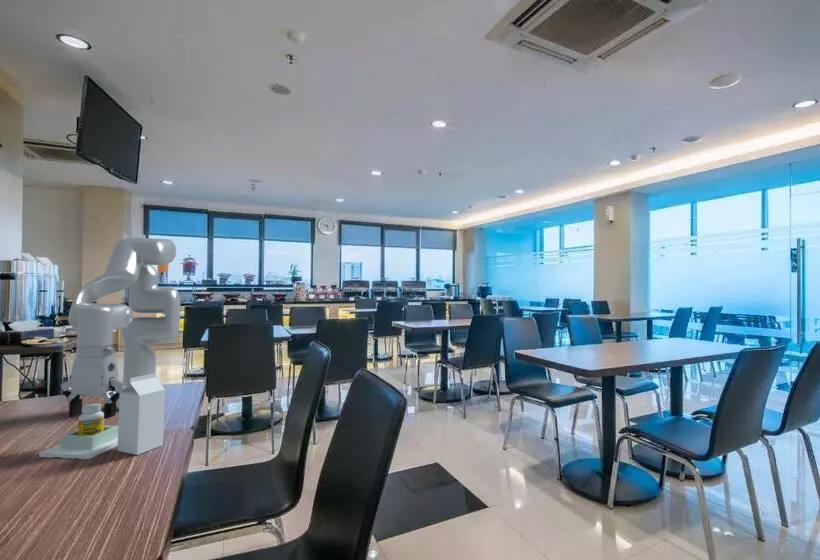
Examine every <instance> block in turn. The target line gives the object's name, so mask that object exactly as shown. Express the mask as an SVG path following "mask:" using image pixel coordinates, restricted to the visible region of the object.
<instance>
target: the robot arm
mask: <svg viewBox="0 0 820 560" xmlns="http://www.w3.org/2000/svg"><path fill="white" fill-rule="evenodd" d="M176 254H177V248H176V244H175V243H174V241H173V240H171V239H168V238H167V239H165V238H151V237H150V238H149V237H125V238H122V239H120V240H118V241H117V242H116V243H115V245H114V247H113V249H112V252H111V255H110V257H109V260H108V262H107V266H106V268H105V271H104V273H102V274H101V275H98V276H96V277H95V278H93V279H92V280H90V281H88V282H87V283H85V284H84V285H83V286H82V287H80V289H79V290H78V291H77V292H76V294H75V296H74V299H73V301H72V303H71V304H70V305H71V306H70V308H69V311H68V317H67V321H68V323H69V326H70V327H71V328H73V329H74V330H76V356H75V357H74V360H73V362H72V368H71V372H70V379H68V380H67V381H65V382H63V383H61V385H60V387H61V389H62V392H63V395H64V396H65V398H66V401H67V402H68V403H69V404H68V407H69V408H68V417H69V418H73V417H76V416H80V415H82V414H83V413H82V407H83V398H81V397H82V396H88V397H89V396H90V397H102V398H103V400H104V401H105V402H106V403H104V405H103V407H104V408H103V413H104V420H108V419H111V418H113V417H115V416H116V415H117V410H119V402H118V401H119V400H120V392H121V391H122V390H123V389H124V388H125V387H126V386H127V385H128V384H129V383H130V378H134V377H139V376H144V375H149V374H154V373H156V364H157V363H156V362H157V357H156V356H157V355H156V352H155V351H154V349H153V348H152V347H151V346H150V345H149V344H171V343H175V342H176V341H177V340H178V339H179V335H180V321H181V319H180V318H181V296H180V293H179V292H180V291H178V290H177V289H176V288H173V287H166V286H165V287H164V286H162V287H161V286H159V285H158V283H159V282H158V281H159V280H158V279H159V274H158V271H157V270H156V268H155V267H154V266H164V265H167V264H168V265H169V264H170V263H172V262H173V261H174V260H175V258H176ZM126 289H129V290H128V305H127V304H124V303H105V302H104V303H102V302H100V303H98V302H97V303H95V302H96V301H97V300H99V299H100V298H102V297H105V296H108V295H111V294H114V293H118V292H120V291H123V290H126ZM133 313H137V314H163V315H164V316H137V317H136V316H135V317H134V314H133ZM115 330H116V331H117V330H118V331H119V330H120V331H121V335H122V342H123V343H122V344H123V369H122V370H123V371H122V382H121V381H119V369H118V363H117V362H118V361H117V358H116V356H114V355H113V354H115V353H116V348H113V347H114V346H113V343H114V341H113V340H114V339H113V338H114V336H113V335H114V331H115ZM117 402H118V403H117Z"/></svg>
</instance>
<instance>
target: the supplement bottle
mask: <svg viewBox="0 0 820 560" xmlns="http://www.w3.org/2000/svg"><path fill="white" fill-rule="evenodd" d="M77 422H78V425H77V426H78V427H77V430H78V435H84V436H93V435H95V434H98V433H100V432H103V431H104V426H105V419H104V411H102V404H101V403H90V404H86V405H82V413H81V414H79V415H78V419H77Z"/></svg>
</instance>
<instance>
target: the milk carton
mask: <svg viewBox="0 0 820 560" xmlns="http://www.w3.org/2000/svg"><path fill="white" fill-rule="evenodd" d="M165 393H166V389H165V387H164V385H163V384H162V383H161V382H160V380H159V379H158V378H157V373H156V372H155V373H154V374H149V375H144V376H139V377H134V378H130V383H129V384H128V385H127V386H126V387H125V388H124V389H123V390H122V391H121V392H120V398H119V400H118V401H119V402H118V403H119V409H118V425H117V426H118V445H117V449H116V450H117V452H121V453H125V454H130V455H135V456H136V455H137V456H139V455H140V454H143V453H146V452H149V451H152V450H154V449H156V448H160V447H162V446H163V444H164V422H165V420H164V419H165V417H164V416H165V395H166V394H165Z"/></svg>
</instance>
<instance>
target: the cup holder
mask: <svg viewBox="0 0 820 560" xmlns="http://www.w3.org/2000/svg"><path fill="white" fill-rule="evenodd" d="M115 447H118V425H104V431H103V432H100V433H98V434H95V435H93V436H84V435H78V429H76V430H74V431H71V432H68V433H65V434H63V435H60V443H59V444H57V445H55V446H52V447H50V448H47V449H46V450H43V451H40V452H39V453H38V457H39V458H53V457H60V458H59V459H75V458H78V459H77V460H79V459H80V460H90V459H92V458H94V457H97V456H98V455H100V454H103V453H104V452H107V451H109V450H111V449H114V448H115Z"/></svg>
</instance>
